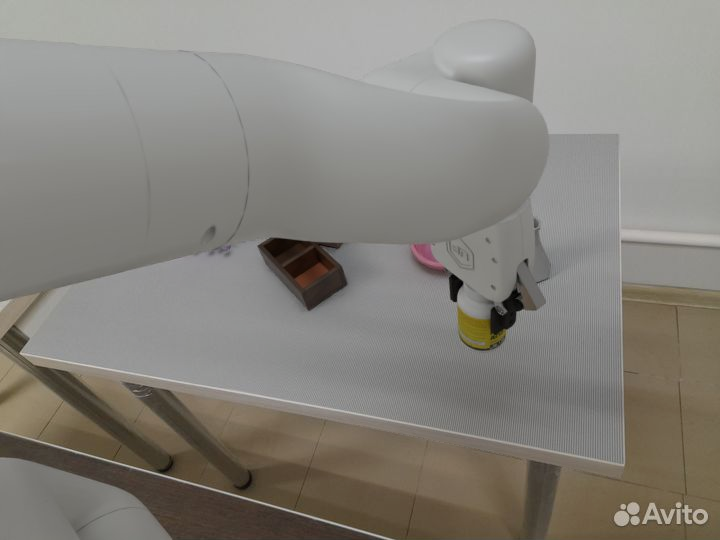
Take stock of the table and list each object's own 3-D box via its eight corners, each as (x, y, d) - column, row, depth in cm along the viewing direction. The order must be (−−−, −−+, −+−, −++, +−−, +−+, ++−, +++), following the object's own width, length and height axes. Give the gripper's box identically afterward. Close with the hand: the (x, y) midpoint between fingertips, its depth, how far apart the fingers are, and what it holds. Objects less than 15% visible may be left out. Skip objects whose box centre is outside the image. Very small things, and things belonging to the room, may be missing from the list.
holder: (308, 311, 86) (301, 293, 83) (265, 263, 96) (257, 245, 93) (347, 284, 89) (342, 266, 85) (301, 240, 98) (294, 222, 95)
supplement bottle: (494, 361, 58) (496, 306, 51) (450, 344, 61) (446, 288, 54) (513, 326, 61) (517, 269, 54) (471, 311, 64) (469, 254, 57)
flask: (555, 282, 81) (561, 236, 73) (507, 287, 82) (509, 243, 74) (545, 249, 86) (550, 203, 78) (500, 254, 87) (500, 209, 79)
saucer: (456, 289, 83) (455, 276, 81) (397, 258, 90) (394, 245, 88) (499, 242, 88) (499, 228, 86) (440, 216, 95) (439, 203, 93)
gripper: (386, 159, 49) (406, 286, 62) (529, 249, 38) (517, 380, 51) (446, 124, 51) (453, 254, 64) (596, 200, 40) (569, 337, 53)
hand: (482, 309), depth 58 cm, fingers closed on supplement bottle, 5 cm apart
